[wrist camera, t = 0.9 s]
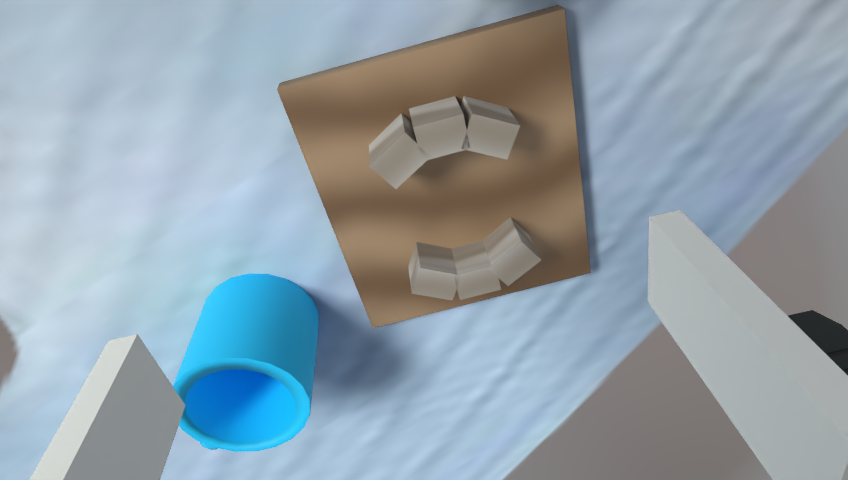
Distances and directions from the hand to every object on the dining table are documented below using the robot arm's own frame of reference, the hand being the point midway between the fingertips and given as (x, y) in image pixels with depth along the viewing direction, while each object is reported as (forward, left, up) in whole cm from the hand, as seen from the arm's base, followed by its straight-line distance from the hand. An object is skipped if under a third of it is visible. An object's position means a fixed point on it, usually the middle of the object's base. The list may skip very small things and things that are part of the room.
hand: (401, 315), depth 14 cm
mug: (+15, -14, -21) cm, 30 cm away
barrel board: (+7, +3, -20) cm, 22 cm away
